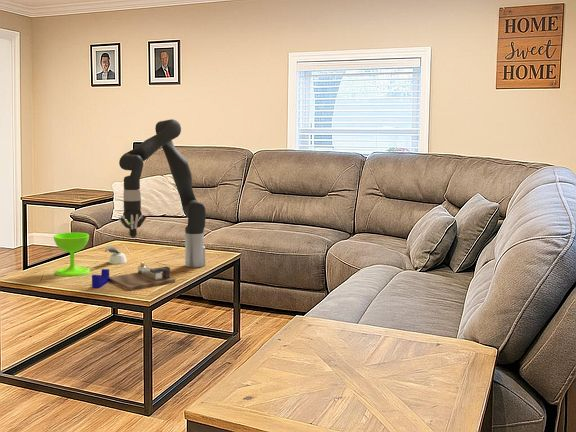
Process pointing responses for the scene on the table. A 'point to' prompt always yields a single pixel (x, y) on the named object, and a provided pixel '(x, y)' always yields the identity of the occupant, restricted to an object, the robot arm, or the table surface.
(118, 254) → the inkwell
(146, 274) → the link
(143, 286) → the board
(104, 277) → the cable clip
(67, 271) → the wineglass
